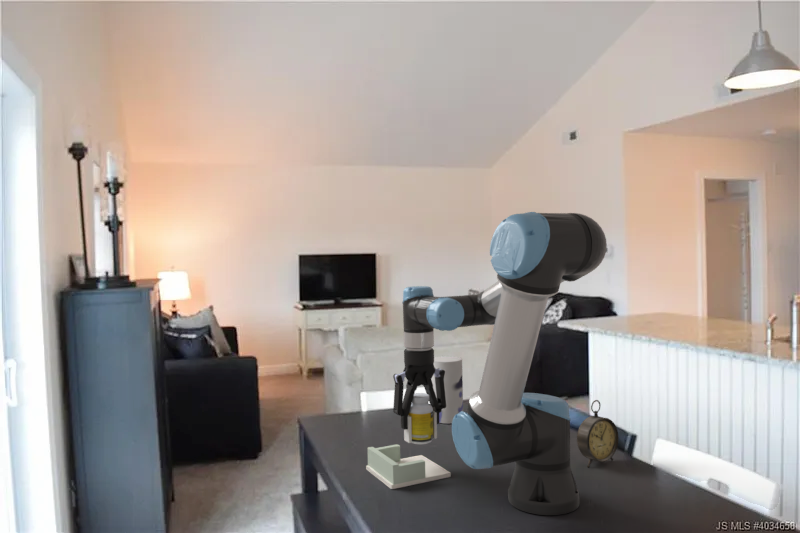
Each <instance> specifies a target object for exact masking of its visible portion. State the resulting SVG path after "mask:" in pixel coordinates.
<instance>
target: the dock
mask: <svg viewBox="0 0 800 533" xmlns="http://www.w3.org/2000/svg"><path fill="white" fill-rule="evenodd" d="M365 469H366V471H367V472H368V473H370V474H371V475H372V476H374V477H375V478H376V479H378V481H380V482H382V483H383V484H384V485H385V486H387V487H388V488H389V489H390V490H395V489H399V488H405V487H408V486H409V487H410V486H413V485H418V484H423V483H428V482H433V481H437V480H442V479H447V478H451V475H452V473H451V472H450V471H449V470H447V469H445V468H444V467H442V466H441V465H439V464H437V463H436V462H434V461H432V460H431V459H429V458H427V457H426V456H424V455H422V454H420V455H415V456H413V455H412V456H409V457H404V458H401V445H400V444H390V445H387V446H386V445H385V446H380V447H374V446H368V447H367V465H365Z"/></svg>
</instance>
